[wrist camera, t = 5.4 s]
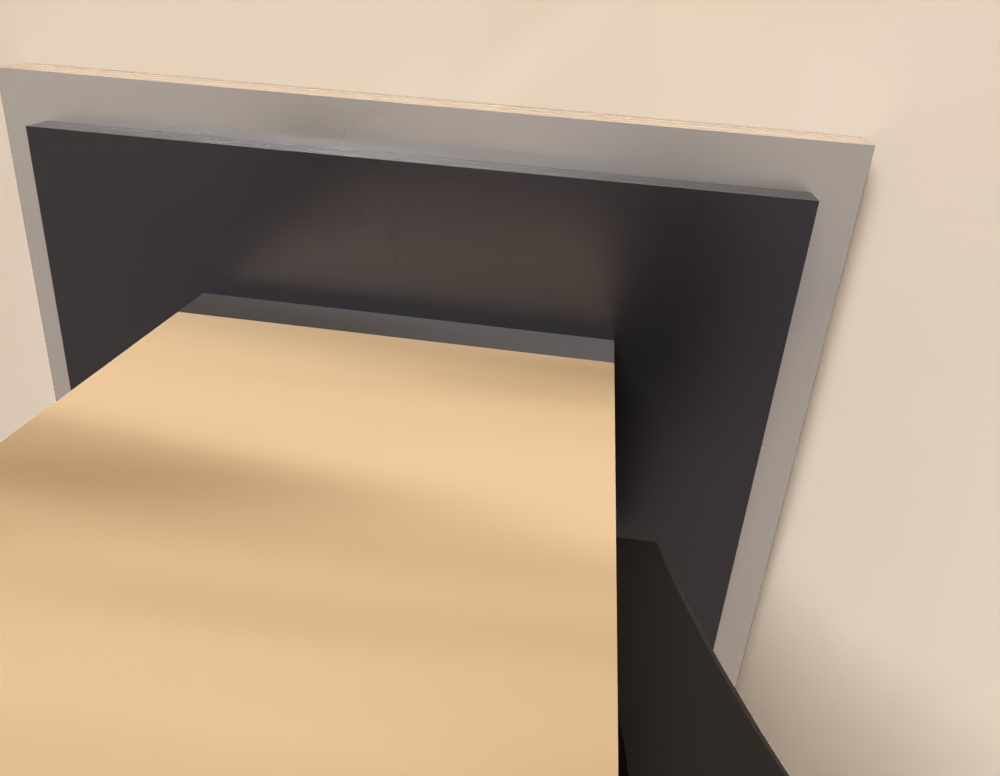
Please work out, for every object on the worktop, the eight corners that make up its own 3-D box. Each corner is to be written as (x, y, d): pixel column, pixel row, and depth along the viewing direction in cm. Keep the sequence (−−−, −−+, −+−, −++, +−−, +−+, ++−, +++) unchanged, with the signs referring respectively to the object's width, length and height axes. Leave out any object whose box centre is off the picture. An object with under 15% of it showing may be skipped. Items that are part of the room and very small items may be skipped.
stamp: (566, 662, 11) (523, 1332, 5) (230, 613, 11) (-129, 1196, 6) (613, 340, 9) (619, 886, 3) (203, 293, 9) (-376, 721, 4)
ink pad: (705, 759, 12) (712, 813, 12) (127, 675, 13) (95, 719, 12) (861, 137, 9) (886, 151, 8) (25, 63, 9) (-30, 69, 8)
